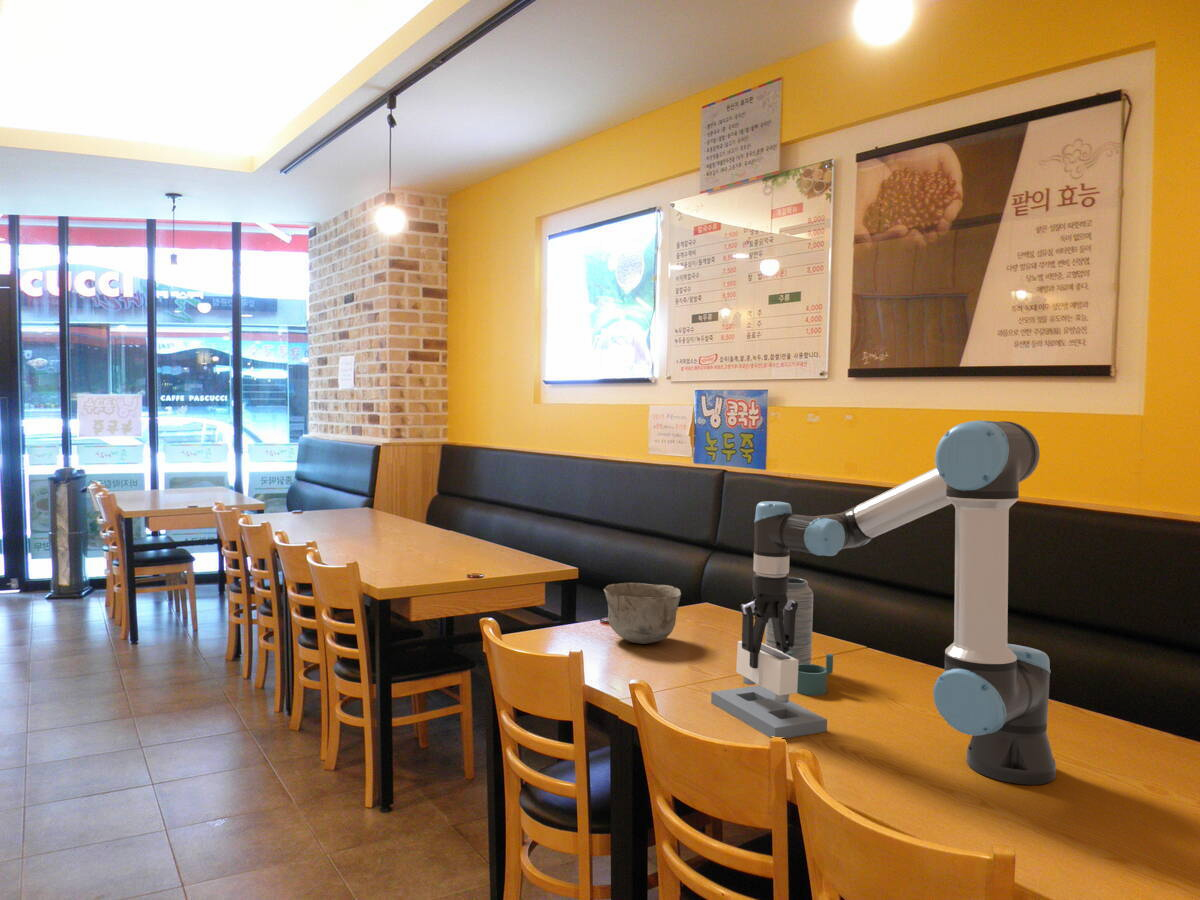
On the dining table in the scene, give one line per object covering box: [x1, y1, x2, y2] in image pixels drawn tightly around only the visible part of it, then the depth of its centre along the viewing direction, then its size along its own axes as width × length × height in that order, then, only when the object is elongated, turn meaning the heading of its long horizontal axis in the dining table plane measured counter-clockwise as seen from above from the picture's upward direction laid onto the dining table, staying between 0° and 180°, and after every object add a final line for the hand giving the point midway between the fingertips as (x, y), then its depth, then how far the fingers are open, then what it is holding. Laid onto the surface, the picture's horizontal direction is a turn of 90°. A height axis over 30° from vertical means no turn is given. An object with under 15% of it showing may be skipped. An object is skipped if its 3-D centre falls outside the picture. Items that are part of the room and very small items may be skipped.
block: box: [736, 640, 799, 703], centre depth 190 cm, size 16×4×9 cm, turn 24°
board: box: [710, 684, 828, 739], centre depth 189 cm, size 24×13×2 cm, turn 24°
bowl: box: [603, 582, 682, 645], centre depth 248 cm, size 22×22×15 cm
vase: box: [764, 576, 814, 664], centre depth 224 cm, size 12×12×23 cm
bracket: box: [787, 651, 834, 697], centre depth 209 cm, size 9×9×9 cm
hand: (766, 681), depth 189 cm, fingers closed on block, 4 cm apart
